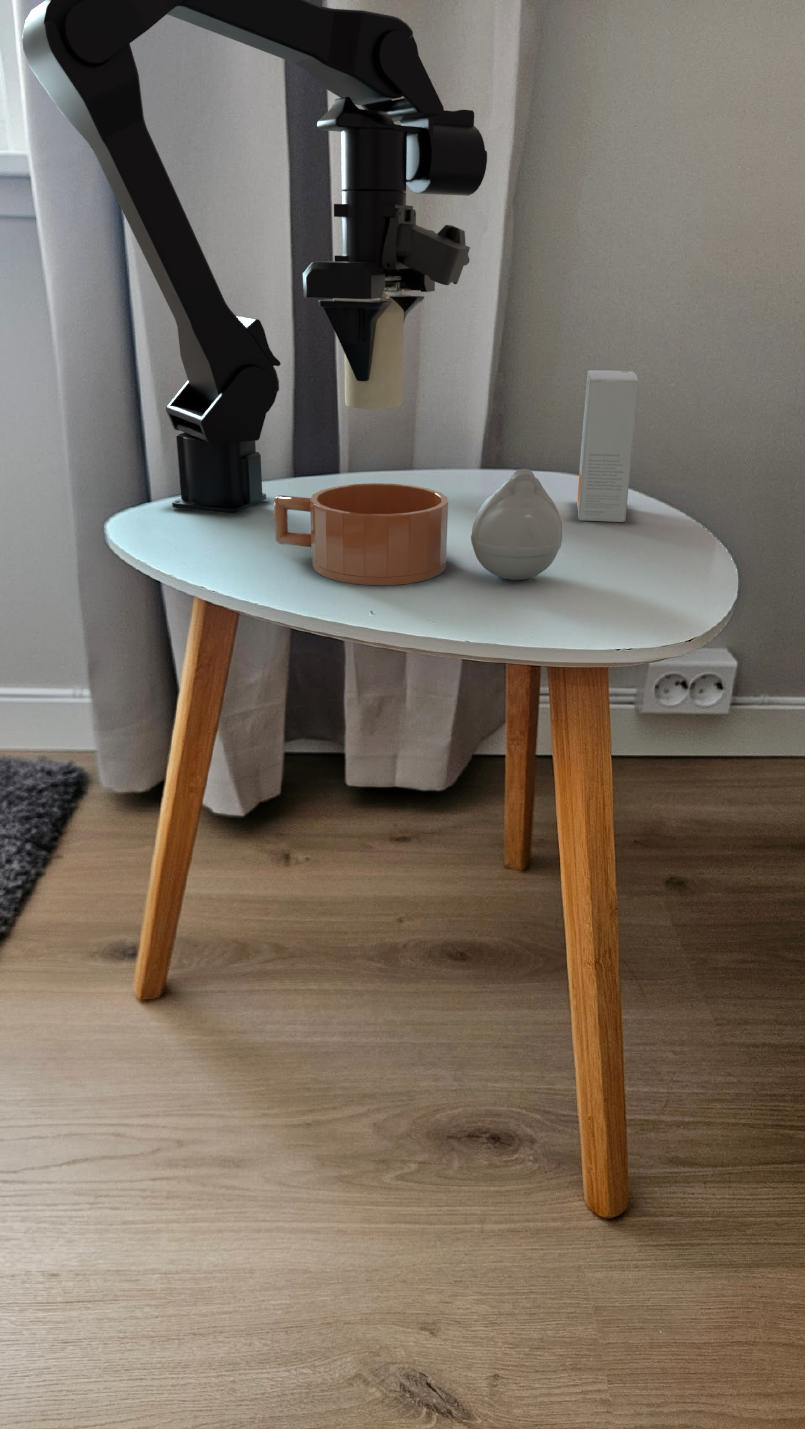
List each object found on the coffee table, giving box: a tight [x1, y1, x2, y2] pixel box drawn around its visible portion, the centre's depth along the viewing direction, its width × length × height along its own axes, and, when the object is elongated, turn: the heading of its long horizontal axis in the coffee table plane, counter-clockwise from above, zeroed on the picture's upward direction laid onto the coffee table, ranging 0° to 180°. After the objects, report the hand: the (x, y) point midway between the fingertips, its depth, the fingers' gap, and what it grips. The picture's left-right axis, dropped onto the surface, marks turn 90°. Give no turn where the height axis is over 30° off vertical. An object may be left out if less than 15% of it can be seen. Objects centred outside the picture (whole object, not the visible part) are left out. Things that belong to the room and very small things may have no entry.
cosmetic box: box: [576, 369, 640, 523], centre depth 87 cm, size 6×4×12 cm
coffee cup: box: [273, 482, 449, 586], centre depth 74 cm, size 14×10×5 cm
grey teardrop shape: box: [470, 468, 563, 581], centre depth 71 cm, size 7×7×8 cm
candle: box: [344, 293, 405, 410], centre depth 93 cm, size 6×6×10 cm
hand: (373, 377), depth 94 cm, fingers closed on candle, 5 cm apart
